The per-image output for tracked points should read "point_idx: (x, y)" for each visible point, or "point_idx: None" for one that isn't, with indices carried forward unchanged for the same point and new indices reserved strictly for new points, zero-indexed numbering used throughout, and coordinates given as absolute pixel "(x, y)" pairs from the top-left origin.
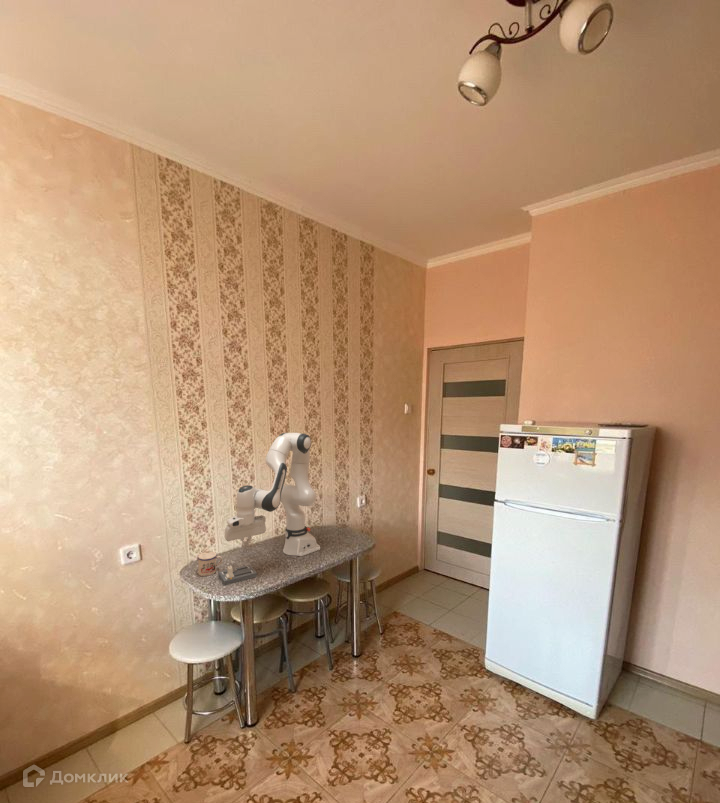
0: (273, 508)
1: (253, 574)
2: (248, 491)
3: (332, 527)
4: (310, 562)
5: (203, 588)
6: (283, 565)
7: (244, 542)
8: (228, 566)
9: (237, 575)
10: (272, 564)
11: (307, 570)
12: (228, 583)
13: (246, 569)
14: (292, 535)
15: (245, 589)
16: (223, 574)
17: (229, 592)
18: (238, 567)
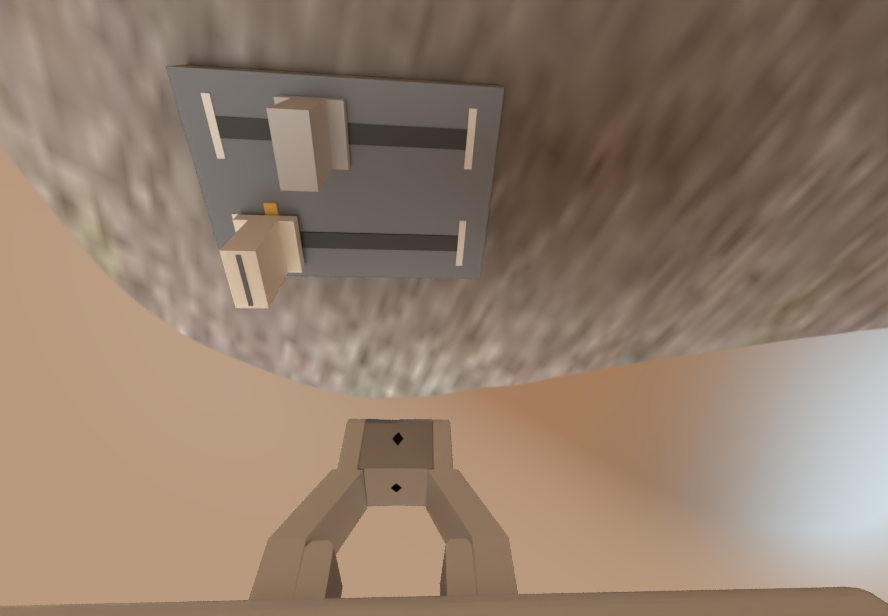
0: None
1: (455, 276)
2: None
3: None
4: (872, 266)
5: (76, 224)
6: (729, 204)
7: (360, 514)
8: (229, 255)
9: (338, 245)
10: (692, 131)
11: (752, 344)
12: None
13: (439, 176)
14: None
15: (361, 363)
16: (220, 158)
17: (267, 351)
18: (386, 82)
